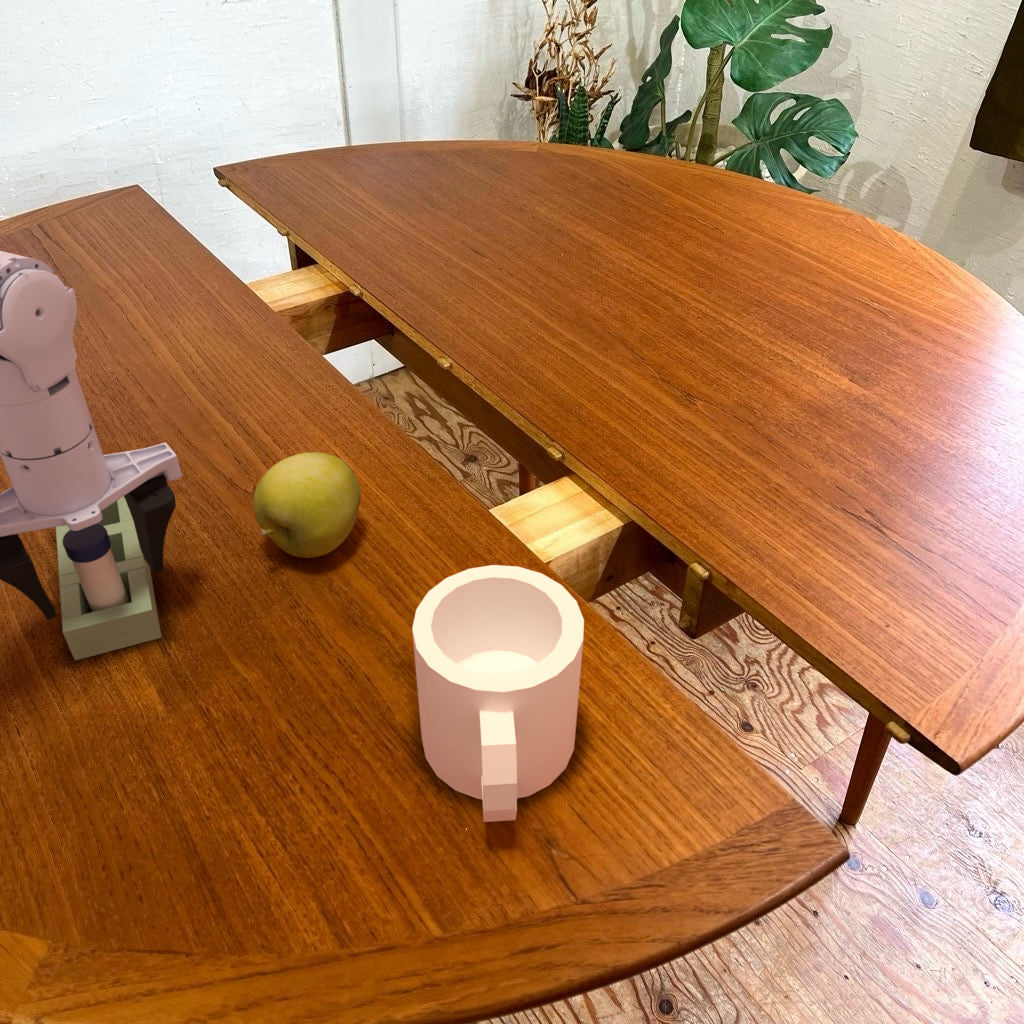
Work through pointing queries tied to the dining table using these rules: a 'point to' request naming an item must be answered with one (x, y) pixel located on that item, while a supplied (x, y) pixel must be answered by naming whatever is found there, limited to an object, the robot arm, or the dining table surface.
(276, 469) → the apple
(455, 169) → the dining table surface
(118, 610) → the tube rack
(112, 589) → the test tube
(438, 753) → the mug
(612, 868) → the dining table surface
